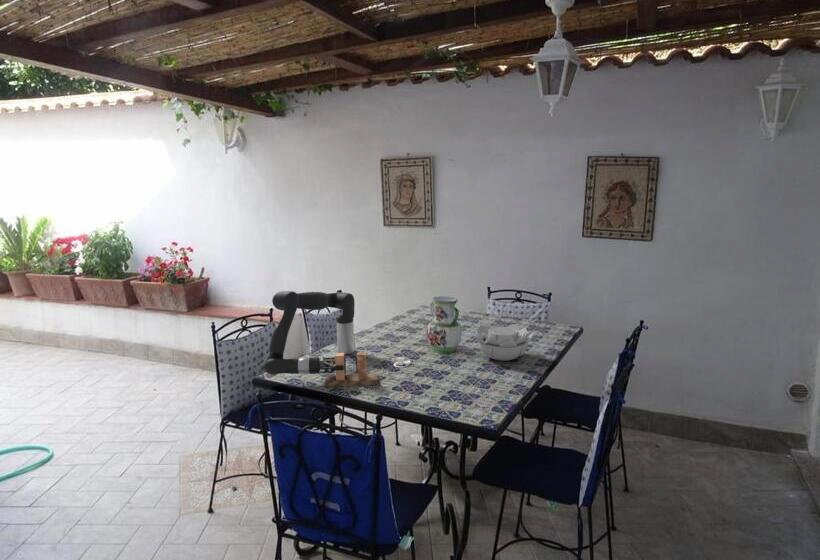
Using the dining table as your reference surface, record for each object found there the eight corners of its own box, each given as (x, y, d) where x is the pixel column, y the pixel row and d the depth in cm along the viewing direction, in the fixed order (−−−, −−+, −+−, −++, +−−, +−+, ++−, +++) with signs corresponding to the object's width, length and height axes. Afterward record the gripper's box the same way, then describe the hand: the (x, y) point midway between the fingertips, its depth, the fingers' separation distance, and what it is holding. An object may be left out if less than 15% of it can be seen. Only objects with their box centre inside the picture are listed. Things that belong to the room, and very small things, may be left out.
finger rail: (325, 386, 238) (323, 357, 236) (326, 380, 246) (325, 352, 244) (377, 384, 240) (376, 355, 237) (377, 378, 247) (376, 350, 245)
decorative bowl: (540, 354, 278) (541, 327, 275) (519, 371, 254) (520, 341, 251) (488, 345, 295) (489, 319, 292) (464, 360, 270) (464, 332, 268)
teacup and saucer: (412, 363, 269) (412, 356, 268) (408, 368, 261) (408, 361, 260) (396, 362, 271) (396, 354, 270) (391, 367, 263) (391, 359, 263)
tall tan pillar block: (336, 384, 240) (334, 355, 238) (336, 381, 244) (335, 353, 242) (346, 384, 241) (344, 355, 238) (346, 381, 245) (345, 352, 242)
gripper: (306, 363, 232) (342, 361, 233) (310, 352, 246) (345, 351, 247) (307, 379, 234) (343, 377, 235) (311, 368, 248) (345, 366, 249)
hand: (344, 364), depth 241 cm, fingers open, 8 cm apart
